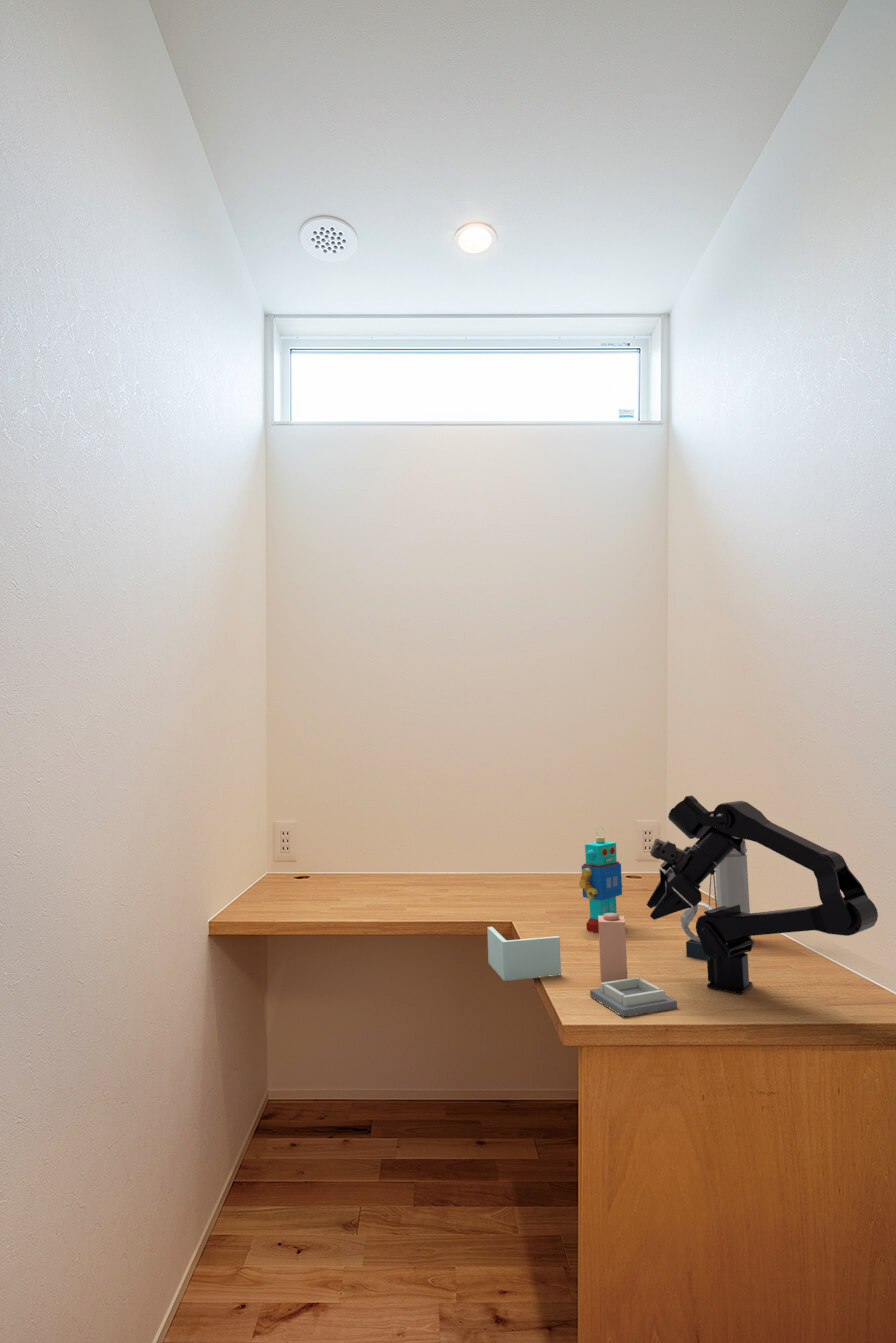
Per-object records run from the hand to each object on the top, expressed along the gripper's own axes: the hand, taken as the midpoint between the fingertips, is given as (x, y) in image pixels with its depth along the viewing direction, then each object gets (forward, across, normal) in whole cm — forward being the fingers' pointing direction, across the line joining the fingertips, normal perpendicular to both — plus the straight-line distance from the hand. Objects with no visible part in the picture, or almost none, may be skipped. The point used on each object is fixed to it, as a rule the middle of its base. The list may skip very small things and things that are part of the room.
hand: (650, 912), depth 147 cm
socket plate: (+13, +11, +6) cm, 18 cm away
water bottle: (-4, -32, +24) cm, 40 cm away
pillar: (+15, 0, +4) cm, 15 cm away
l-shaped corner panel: (+28, -6, -8) cm, 30 cm away
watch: (+2, -19, +18) cm, 26 cm away
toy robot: (+16, -38, +3) cm, 42 cm away
